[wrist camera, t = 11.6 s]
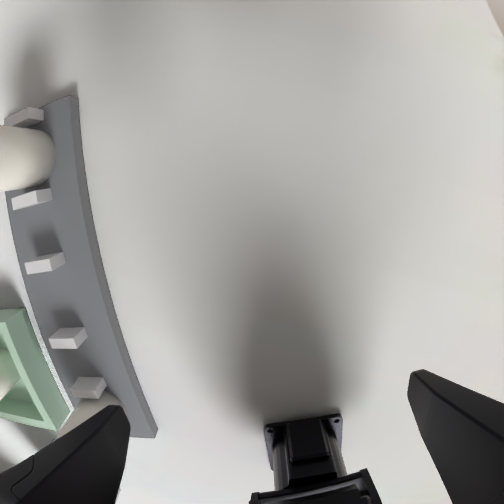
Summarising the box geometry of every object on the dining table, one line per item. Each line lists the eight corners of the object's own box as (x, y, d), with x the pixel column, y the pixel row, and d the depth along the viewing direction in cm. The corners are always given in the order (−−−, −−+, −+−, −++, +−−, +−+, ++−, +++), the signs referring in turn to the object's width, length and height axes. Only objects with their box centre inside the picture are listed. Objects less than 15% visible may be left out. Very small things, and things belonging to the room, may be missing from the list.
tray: (69, 411, 24) (57, 430, 21) (1, 399, 24) (-12, 414, 22) (25, 307, 21) (5, 322, 19) (-39, 311, 22) (-56, 322, 19)
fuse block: (157, 429, 24) (134, 500, 16) (92, 424, 24) (59, 484, 16) (78, 98, 18) (2, 72, 10) (8, 128, 18) (-67, 123, 10)
